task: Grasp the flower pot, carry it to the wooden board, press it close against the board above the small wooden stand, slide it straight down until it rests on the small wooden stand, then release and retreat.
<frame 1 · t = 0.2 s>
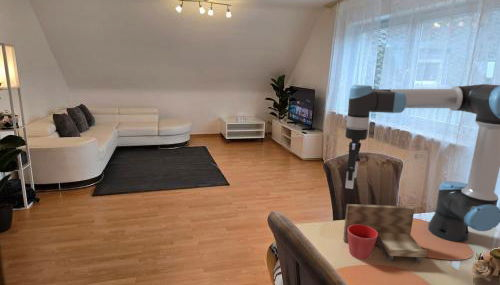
hand: (351, 182, 122), 27 cm above the table, fingers open, 13 cm apart
wooden board: (375, 242, 131), on the table
small wooden stand: (398, 254, 123), on the table
flower pot: (359, 254, 122), on the table
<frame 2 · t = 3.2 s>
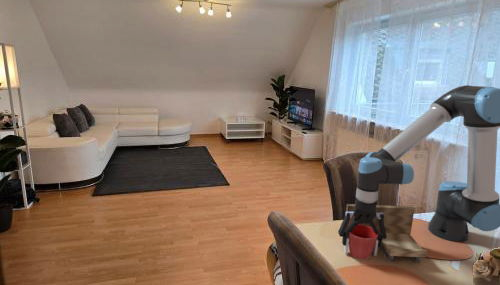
hand: (359, 253, 122), 0 cm above the table, fingers closed on flower pot, 10 cm apart
flower pot: (360, 254, 122), on the table, touching gripper
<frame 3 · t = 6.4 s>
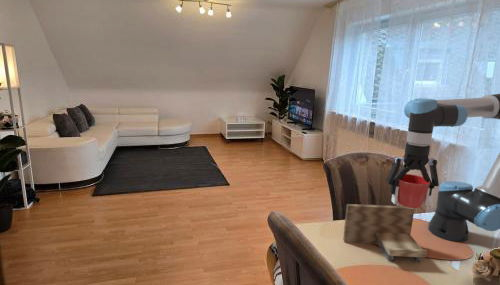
hand: (409, 203, 115), 22 cm above the table, fingers closed on flower pot, 10 cm apart
flower pot: (409, 204, 115), point 22 cm above the table, touching gripper
when the fingers open (6 cm above the table, at t = 9.7 s): flower pot moves 2 cm, resting on small wooden stand.
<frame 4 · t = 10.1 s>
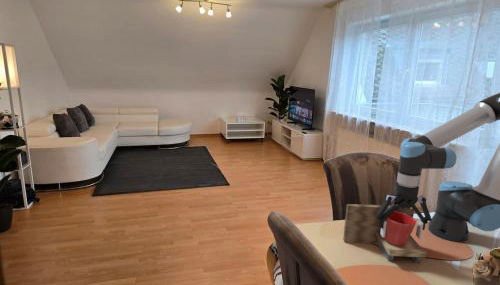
hand: (400, 236, 122), 7 cm above the table, fingers open, 13 cm apart
flower pot: (394, 240, 122), point 5 cm above the table, touching gripper, small wooden stand
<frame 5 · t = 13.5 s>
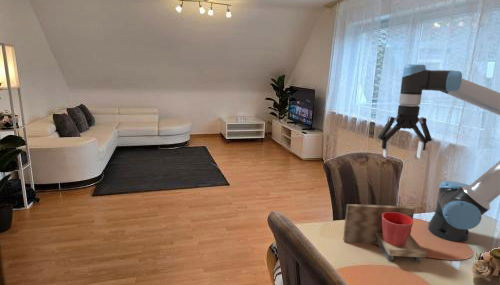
hand: (401, 157, 129), 35 cm above the table, fingers open, 13 cm apart
flower pot: (394, 241, 122), point 5 cm above the table, touching small wooden stand
at the end: flower pot inside the target area (1.9 cm from its centre), point 4.8 cm above the table; flower pot tilted 0°; the gripper is holding nothing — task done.
